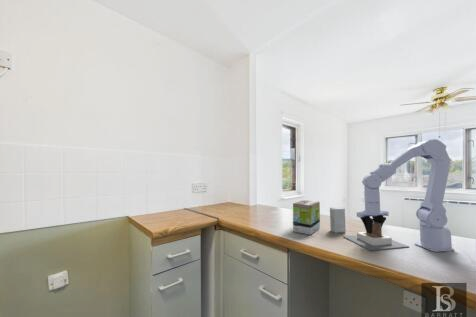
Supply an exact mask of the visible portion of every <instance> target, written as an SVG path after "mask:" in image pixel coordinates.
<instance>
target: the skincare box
mask: <svg viewBox="0 0 476 317" xmlns="http://www.w3.org/2000/svg"><path fill="white" fill-rule="evenodd" d="M329 220H330V221H329V222H330V224H329V225H330V231H331V232H333V233H335V234H336V233H337V234H338V233H346V231H347V230H346V209H345V208H344V207H337V206H336V207H329Z"/></svg>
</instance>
